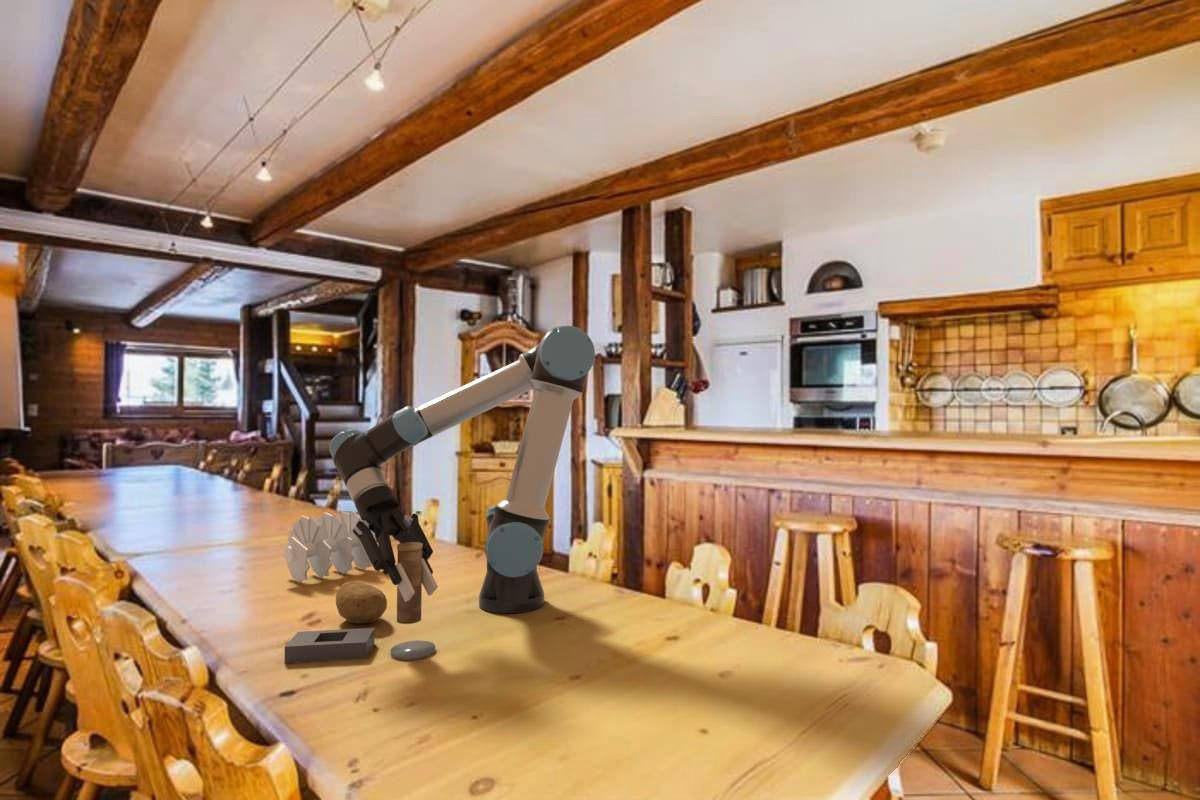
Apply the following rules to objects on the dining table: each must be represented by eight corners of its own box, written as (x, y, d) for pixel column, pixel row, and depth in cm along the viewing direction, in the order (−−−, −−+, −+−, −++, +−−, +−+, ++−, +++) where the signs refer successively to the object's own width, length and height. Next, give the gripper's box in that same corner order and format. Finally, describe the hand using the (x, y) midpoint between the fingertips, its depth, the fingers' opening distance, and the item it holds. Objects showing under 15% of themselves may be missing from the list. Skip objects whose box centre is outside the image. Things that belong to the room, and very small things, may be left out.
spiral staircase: (281, 597, 173) (367, 574, 193) (310, 578, 163) (397, 555, 183) (265, 531, 178) (350, 515, 198) (292, 509, 168) (379, 494, 187)
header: (374, 643, 127) (374, 627, 127) (366, 658, 119) (366, 642, 119) (297, 647, 125) (297, 631, 125) (284, 663, 117) (284, 646, 117)
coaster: (436, 643, 127) (436, 639, 127) (432, 658, 119) (432, 654, 119) (394, 645, 126) (394, 641, 126) (387, 661, 118) (387, 657, 118)
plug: (422, 615, 125) (423, 541, 126) (421, 623, 121) (422, 546, 121) (397, 617, 124) (398, 542, 125) (395, 624, 120) (396, 547, 120)
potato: (355, 635, 132) (355, 595, 132) (325, 620, 142) (325, 583, 142) (399, 624, 139) (399, 586, 139) (367, 610, 149) (368, 574, 149)
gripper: (402, 503, 139) (450, 595, 129) (324, 513, 126) (370, 617, 115) (417, 480, 136) (468, 573, 125) (339, 487, 123) (388, 592, 112)
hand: (421, 593), depth 120 cm, fingers closed on plug, 4 cm apart
